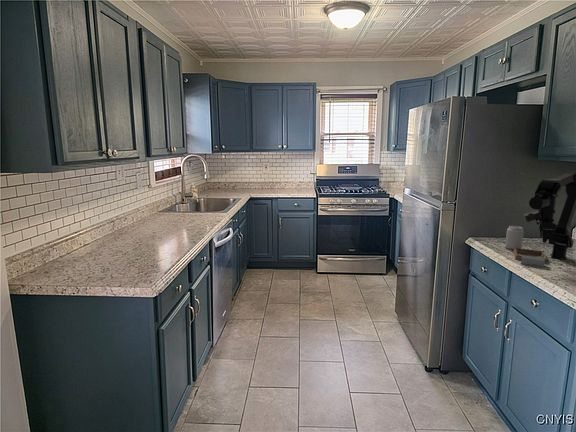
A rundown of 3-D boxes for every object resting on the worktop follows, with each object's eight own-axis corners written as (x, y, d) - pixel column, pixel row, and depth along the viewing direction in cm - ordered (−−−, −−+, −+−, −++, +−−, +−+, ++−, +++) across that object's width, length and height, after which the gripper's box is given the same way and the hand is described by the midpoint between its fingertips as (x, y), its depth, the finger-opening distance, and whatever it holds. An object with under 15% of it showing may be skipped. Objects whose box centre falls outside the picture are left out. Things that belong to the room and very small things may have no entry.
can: (524, 250, 193) (527, 228, 191) (510, 250, 193) (513, 228, 191) (515, 246, 201) (518, 225, 198) (501, 246, 201) (504, 225, 198)
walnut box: (513, 251, 192) (514, 247, 191) (542, 255, 186) (543, 251, 185) (515, 259, 179) (515, 255, 179) (546, 263, 173) (547, 259, 173)
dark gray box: (521, 261, 176) (522, 254, 176) (543, 265, 171) (544, 258, 171) (520, 264, 172) (521, 257, 172) (543, 268, 167) (544, 261, 166)
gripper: (524, 202, 180) (521, 233, 184) (528, 209, 164) (524, 243, 168) (552, 204, 175) (548, 235, 178) (558, 211, 159) (553, 246, 162)
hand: (542, 239), depth 172 cm, fingers open, 9 cm apart
